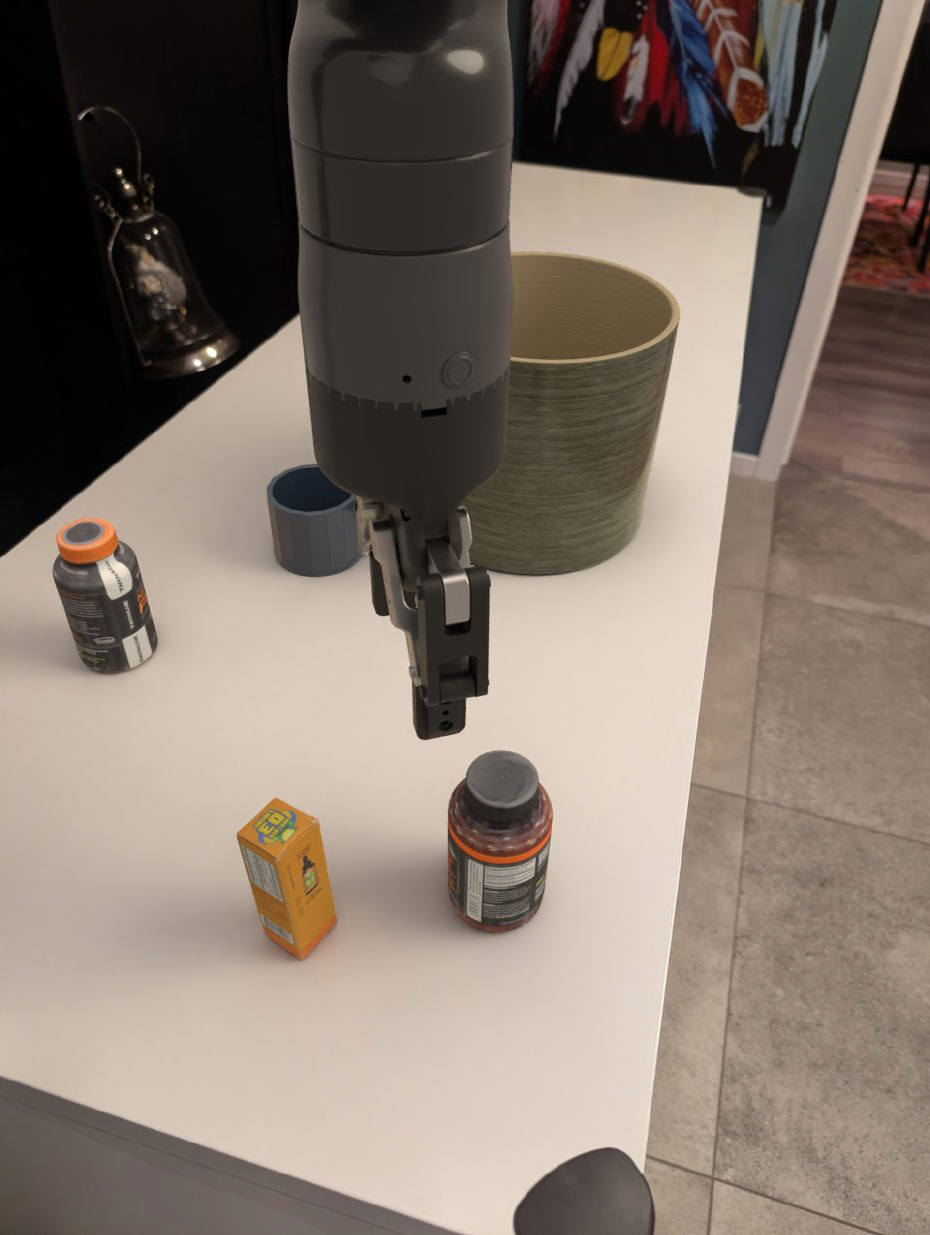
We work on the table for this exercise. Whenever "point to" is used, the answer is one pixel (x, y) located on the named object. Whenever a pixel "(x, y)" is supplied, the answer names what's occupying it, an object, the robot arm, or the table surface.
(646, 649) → the table surface
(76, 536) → the pill bottle
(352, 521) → the cup
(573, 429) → the planter
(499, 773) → the supplement bottle
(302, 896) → the supplement box
